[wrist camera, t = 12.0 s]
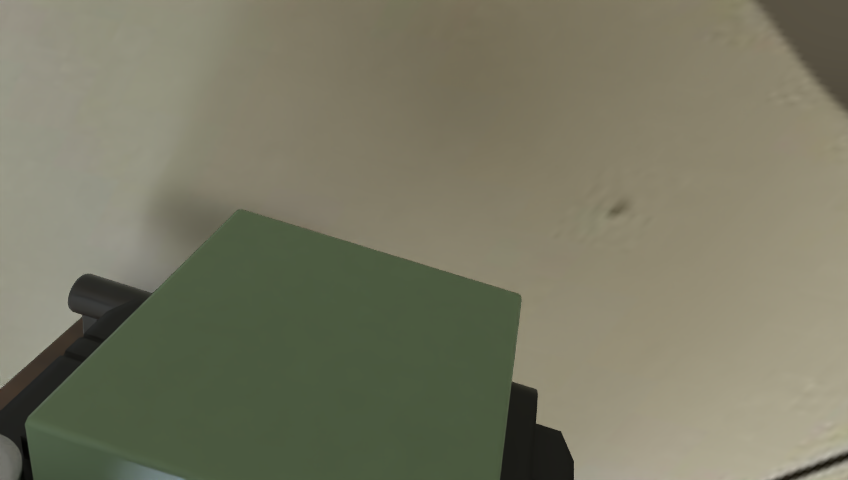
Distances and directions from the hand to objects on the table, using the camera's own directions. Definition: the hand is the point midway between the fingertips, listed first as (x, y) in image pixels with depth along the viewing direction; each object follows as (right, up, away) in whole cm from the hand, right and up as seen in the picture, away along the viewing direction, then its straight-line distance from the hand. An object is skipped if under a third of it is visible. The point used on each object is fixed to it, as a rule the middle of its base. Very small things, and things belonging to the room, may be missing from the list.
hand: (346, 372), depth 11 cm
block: (0, 0, 0) cm, 0 cm away
